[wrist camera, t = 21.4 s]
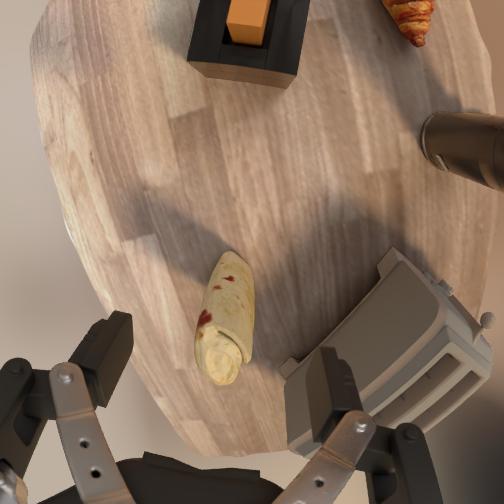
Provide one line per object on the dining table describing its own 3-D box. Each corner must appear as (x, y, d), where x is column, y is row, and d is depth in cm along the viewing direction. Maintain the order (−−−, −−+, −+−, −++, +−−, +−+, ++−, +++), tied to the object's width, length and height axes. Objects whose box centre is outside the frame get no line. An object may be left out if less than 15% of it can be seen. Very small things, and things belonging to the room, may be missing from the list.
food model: (209, 247, 47) (178, 328, 28) (253, 245, 46) (247, 327, 28) (216, 302, 51) (196, 394, 32) (257, 300, 50) (254, 394, 32)
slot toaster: (304, -7, 31) (317, -45, 20) (286, 89, 37) (296, 75, 26) (221, -18, 30) (209, -58, 19) (200, 77, 37) (178, 60, 26)
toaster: (463, 285, 48) (522, 350, 30) (345, 400, 60) (363, 477, 42) (406, 228, 45) (477, 293, 26) (276, 370, 56) (280, 460, 38)
